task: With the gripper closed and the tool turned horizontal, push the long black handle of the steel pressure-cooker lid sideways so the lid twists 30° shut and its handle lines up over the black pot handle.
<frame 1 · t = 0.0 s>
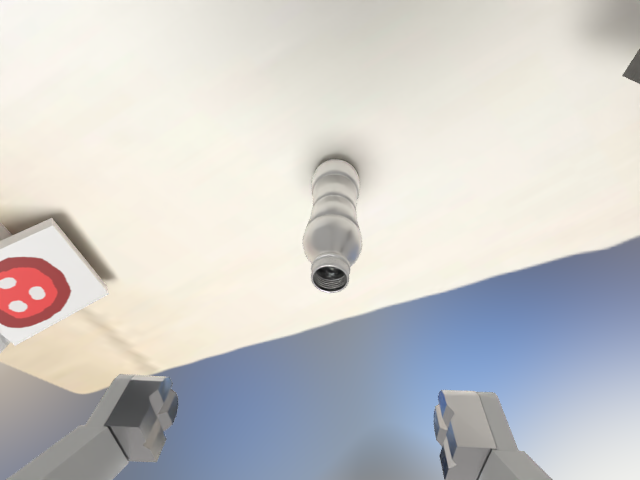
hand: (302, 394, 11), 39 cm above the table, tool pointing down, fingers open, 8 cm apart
plastic bottle: (336, 175, 50), on the table
pizza boxes: (22, 255, 64), on the table
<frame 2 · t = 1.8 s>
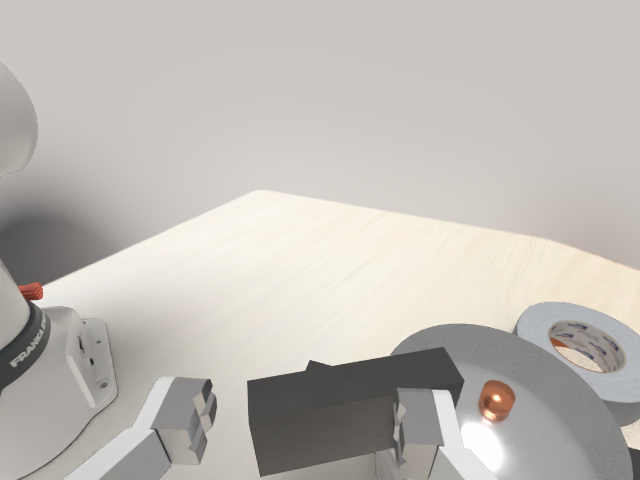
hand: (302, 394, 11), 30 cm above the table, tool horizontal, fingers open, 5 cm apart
cooker pot: (465, 473, 37), on the table
tape roll: (570, 371, 47), on the table
cooker lid: (443, 397, 28), point 14 cm above the table, hinge at 30.0°
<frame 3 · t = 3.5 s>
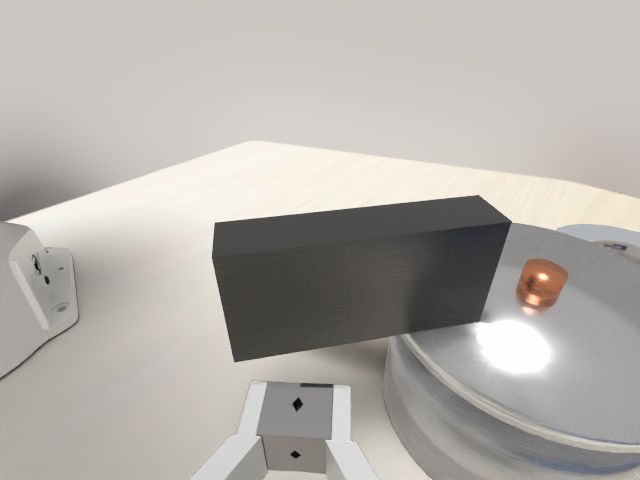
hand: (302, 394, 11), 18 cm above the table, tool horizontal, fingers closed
cooker pot: (492, 397, 30), on the table
tape roll: (607, 298, 41), on the table
cooker lid: (476, 268, 22), point 14 cm above the table, hinge at 30.0°
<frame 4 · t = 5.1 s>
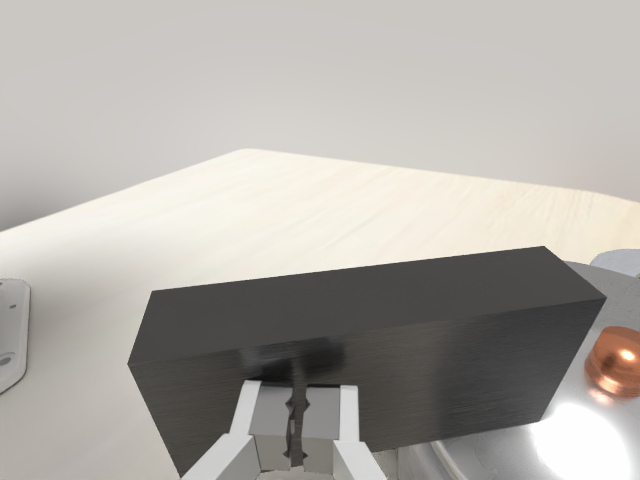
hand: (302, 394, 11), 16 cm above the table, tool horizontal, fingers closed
cooker lid: (536, 347, 15), point 14 cm above the table, hinge at 27.9°, touching gripper
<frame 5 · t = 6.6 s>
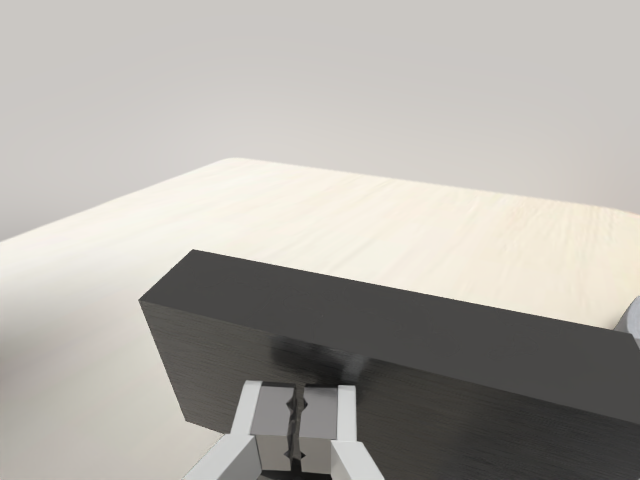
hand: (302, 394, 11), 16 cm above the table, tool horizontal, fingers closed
cooker lid: (589, 459, 11), point 14 cm above the table, hinge at -0.3°, touching gripper
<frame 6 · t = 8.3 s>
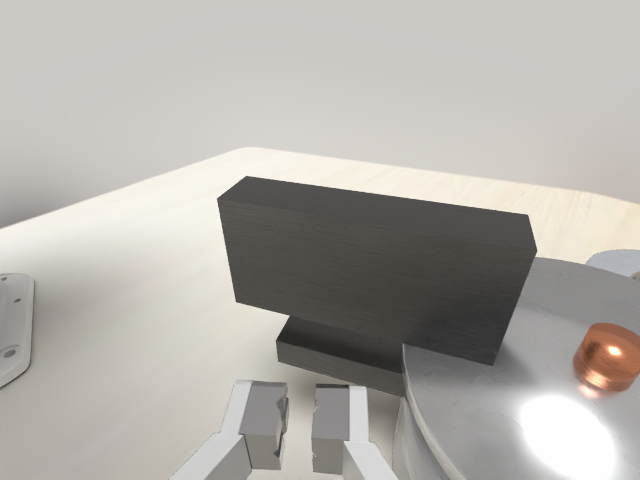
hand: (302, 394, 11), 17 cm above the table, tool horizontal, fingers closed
cooker lid: (506, 303, 18), point 14 cm above the table, hinge at -0.3°
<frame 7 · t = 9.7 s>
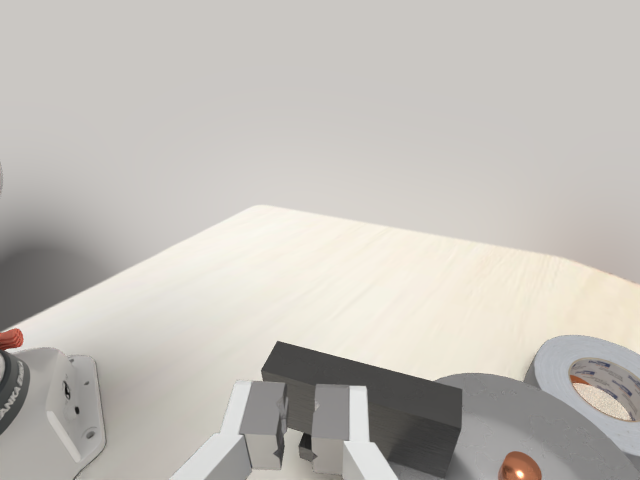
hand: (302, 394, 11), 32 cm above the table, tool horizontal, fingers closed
tape roll: (592, 413, 44), on the table
cooker lid: (451, 439, 27), point 14 cm above the table, hinge at -0.3°
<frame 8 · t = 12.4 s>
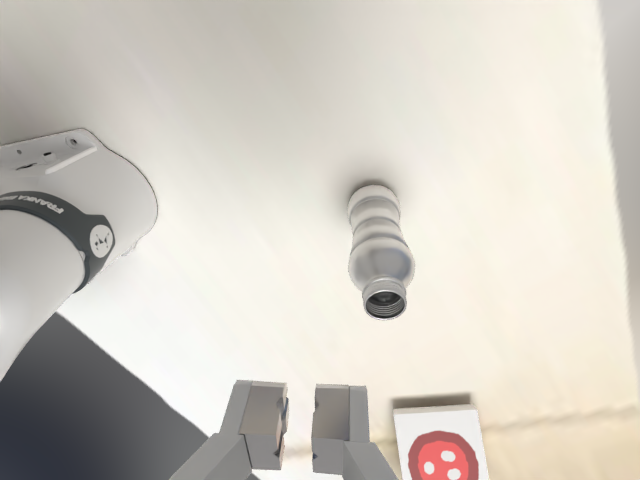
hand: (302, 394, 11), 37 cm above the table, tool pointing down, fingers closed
plastic bottle: (372, 200, 49), on the table
pizza boxes: (432, 435, 77), on the table
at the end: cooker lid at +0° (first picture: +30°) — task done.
